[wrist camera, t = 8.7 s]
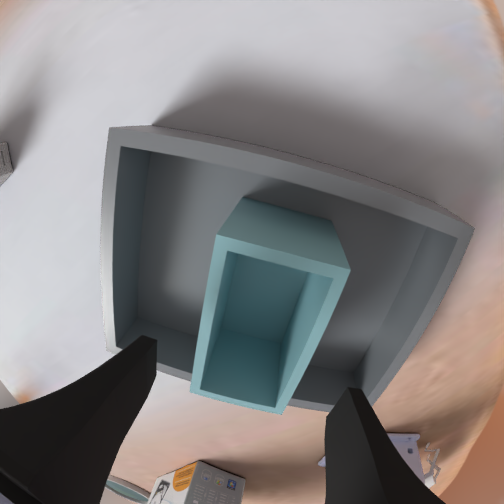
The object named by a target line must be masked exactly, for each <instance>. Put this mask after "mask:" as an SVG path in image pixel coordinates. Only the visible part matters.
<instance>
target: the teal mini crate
mask: <svg viewBox="0 0 504 504" xmlns="http://www.w3.org/2000/svg"><path fill="white" fill-rule="evenodd" d="M350 271H351V269H350V266H349V264H348V261H347V258H346V256H345V253H344V250H343V248H342V245H341V243H340V240H339V238H338V235H337V233H336V230H335V228H334V225H333V223H332V221H331V220H327V219H324V218H320V217H317V216H313V215H310V214H306V213H302V212H299V211H295V210H291V209H288V208H284V207H280V206H277V205H273V204H269V203H265V202H261V201H257V200H253V199H249V198H245V197H242V198H241V200H240V201H239V203H238V204H237V205H236V207H235V208H234V210H233V211H232V213H231V214H230V215H229V217H228V218H227V220H226V221H225V223H224V224H223V225H222V227H221V228H220V230H219V231H218V233H217V234H216V238H215V244H214V249H213V254H212V259H211V265H210V270H209V276H208V281H207V287H206V292H205V298H204V304H203V310H202V316H201V322H200V328H199V334H198V340H197V346H196V353H195V359H194V366H193V373H192V379H191V386H190V392H191V393H194V394H198V395H201V396H205V397H208V398H212V399H215V400H219V401H223V402H227V403H231V404H235V405H239V406H243V407H247V408H252V409H256V410H261V411H265V412H270V413H275V414H281V415H282V413H283V411H284V410H285V408H286V406H287V404H288V402H289V400H290V399H291V397H292V395H293V393H294V391H295V389H296V387H297V386H298V384H299V382H300V380H301V378H302V376H303V374H304V372H305V370H306V368H307V366H308V364H309V362H310V360H311V358H312V356H313V354H314V352H315V350H316V348H317V346H318V344H319V342H320V340H321V337H322V335H323V333H324V331H325V329H326V327H327V324H328V322H329V320H330V318H331V316H332V313H333V311H334V309H335V307H336V304H337V302H338V300H339V297H340V295H341V293H342V290H343V288H344V286H345V283H346V281H347V278H348V276H349V273H350Z"/></svg>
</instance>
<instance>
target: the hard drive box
mask: <svg viewBox="0 0 504 504" xmlns="http://www.w3.org/2000/svg"><path fill="white" fill-rule="evenodd" d="M245 482H246V480H245V479H243V478H240V477H238V476H235V475H232V474H230V473H227V472H225V471H222V470H220V469H217V468H215V467H212V466H210V465H208V464H206V463H203V462H201V461H197V462H195V463H193V464H190V465H186V466H184V467H183V468H181V469H179V470H176V471H174V472H171V473H169V474H165V475H163V476H161V477H158V478H157V479H156V482H155V484H154V487H153V490H152V492H151V495H150V498H149V500H148V503H147V504H241V502H242V497H243V492H244V487H245Z"/></svg>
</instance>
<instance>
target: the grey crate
mask: <svg viewBox="0 0 504 504" xmlns="http://www.w3.org/2000/svg"><path fill="white" fill-rule="evenodd" d="M242 197H245V198H249V199H253V200H257V201H261V202H265V203H269V204H273V205H277V206H280V207H284V208H288V209H291V210H295V211H299V212H302V213H306V214H310V215H313V216H317V217H320V218H324V219H327V220H331V221H332V223H333V225H334V228H335V230H336V233H337V235H338V238H339V240H340V243H341V245H342V248H343V250H344V253H345V256H346V258H347V261H348V264H349V266H350V269H351V271H350V273H349V276H348V278H347V281H346V283H345V286H344V288H343V290H342V293H341V295H340V297H339V300H338V302H337V304H336V307H335V309H334V311H333V313H332V316H331V318H330V320H329V322H328V324H327V327H326V329H325V331H324V333H323V335H322V337H321V340H320V342H319V344H318V346H317V348H316V350H315V352H314V354H313V356H312V358H311V360H310V362H309V364H308V366H307V368H306V370H305V372H304V374H303V376H302V378H301V380H300V382H299V384H298V386H297V387H296V389H295V391H294V393H293V395H292V397H291V399H290V400H289V402H288V404H287V405H288V406H294V407H299V408H305V409H311V410H317V411H324V412H330V411H331V410H332V409H333V407H334V406H335V404H336V403H337V402H338V400H339V399H340V397H341V396H342V394H343V393H344V391H345V390H346V388H347V387H351V388H358V389H362V391H363V392H364V394H365V396H366V398H367V399H368V401H369V403H370V405H371V407H372V406H373V404H374V403H375V402H376V401H377V399H378V398H379V397H380V395H381V394H382V393H383V391H384V390H385V389H386V387H387V386H388V385H389V383H390V382H391V381H392V379H393V378H394V377H395V375H396V374H397V372H398V371H399V369H400V368H401V367H402V365H403V364H404V362H405V361H406V359H407V358H408V356H409V355H410V353H411V352H412V350H413V348H414V347H415V345H416V344H417V342H418V341H419V339H420V337H421V336H422V334H423V332H424V331H425V329H426V327H427V326H428V324H429V322H430V321H431V319H432V317H433V315H434V314H435V312H436V310H437V308H438V306H439V305H440V303H441V301H442V299H443V297H444V295H445V293H446V291H447V289H448V287H449V285H450V283H451V281H452V279H453V277H454V275H455V273H456V271H457V269H458V267H459V265H460V262H461V260H462V258H463V256H464V254H465V251H466V249H467V247H468V244H469V242H470V239H471V237H472V234H473V232H474V229H475V228H474V227H472V226H471V225H469V224H468V223H466V222H465V221H463V220H462V219H460V218H459V217H457V216H456V215H454V214H453V213H451V212H450V211H448V210H447V209H445V208H443V207H442V206H440V205H439V204H436V203H434V202H431V201H429V200H427V199H424V198H422V197H419V196H417V195H414V194H412V193H409V192H407V191H404V190H401V189H399V188H396V187H393V186H391V185H388V184H385V183H382V182H380V181H377V180H374V179H371V178H368V177H365V176H362V175H359V174H356V173H353V172H350V171H347V170H344V169H341V168H338V167H334V166H331V165H328V164H325V163H321V162H318V161H314V160H311V159H307V158H304V157H300V156H297V155H293V154H289V153H285V152H282V151H278V150H274V149H270V148H266V147H262V146H257V145H253V144H249V143H244V142H240V141H235V140H231V139H226V138H221V137H216V136H211V135H206V134H201V133H195V132H190V131H184V130H178V129H172V128H165V127H159V126H152V125H146V126H125V127H111V128H109V134H108V141H107V149H106V158H105V167H104V178H103V191H102V207H101V237H100V263H101V293H102V309H103V322H104V333H105V342H106V351H108V352H111V353H113V354H117V353H119V352H120V351H121V350H123V349H124V348H125V347H127V346H128V345H129V344H130V343H132V342H133V341H134V340H135V339H137V338H138V337H139V336H141V335H145V336H148V337H150V338H153V339H156V340H158V341H157V369H156V370H158V371H160V372H163V373H166V374H169V375H172V376H175V377H178V378H181V379H185V380H188V381H191V379H192V373H193V366H194V359H195V353H196V346H197V340H198V334H199V328H200V322H201V316H202V310H203V304H204V298H205V292H206V287H207V281H208V276H209V270H210V265H211V259H212V254H213V249H214V244H215V238H216V234H217V233H218V231H219V230H220V228H221V227H222V225H223V224H224V223H225V221H226V220H227V218H228V217H229V215H230V214H231V213H232V211H233V210H234V208H235V207H236V205H237V204H238V203H239V201H240V200H241V198H242Z"/></svg>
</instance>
